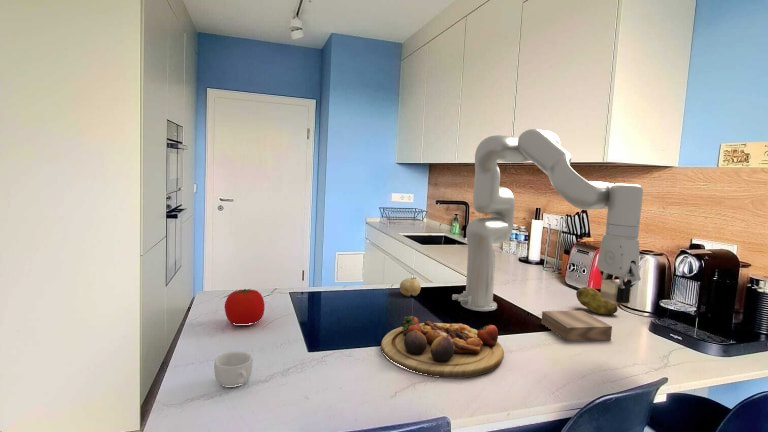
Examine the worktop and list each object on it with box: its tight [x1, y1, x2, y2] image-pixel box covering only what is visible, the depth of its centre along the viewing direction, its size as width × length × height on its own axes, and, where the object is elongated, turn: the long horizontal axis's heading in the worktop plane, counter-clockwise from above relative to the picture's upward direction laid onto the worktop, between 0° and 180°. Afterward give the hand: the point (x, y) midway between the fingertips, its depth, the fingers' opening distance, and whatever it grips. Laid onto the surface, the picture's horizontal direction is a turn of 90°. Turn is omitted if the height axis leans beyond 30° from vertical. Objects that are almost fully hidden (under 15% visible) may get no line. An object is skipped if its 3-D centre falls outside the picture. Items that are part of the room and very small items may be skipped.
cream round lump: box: [399, 276, 422, 297], centre depth 160 cm, size 8×8×7 cm
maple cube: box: [600, 279, 633, 305], centre depth 111 cm, size 5×5×5 cm
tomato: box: [224, 288, 265, 324], centre depth 124 cm, size 11×12×10 cm
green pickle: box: [575, 286, 619, 316], centre depth 148 cm, size 8×13×8 cm, turn 33°
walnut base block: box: [541, 310, 613, 342], centre depth 128 cm, size 14×14×4 cm
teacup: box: [213, 351, 253, 386], centre depth 90 cm, size 10×8×5 cm
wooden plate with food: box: [380, 315, 505, 378], centre depth 111 cm, size 32×32×8 cm
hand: (615, 298), depth 111 cm, fingers closed on maple cube, 5 cm apart
